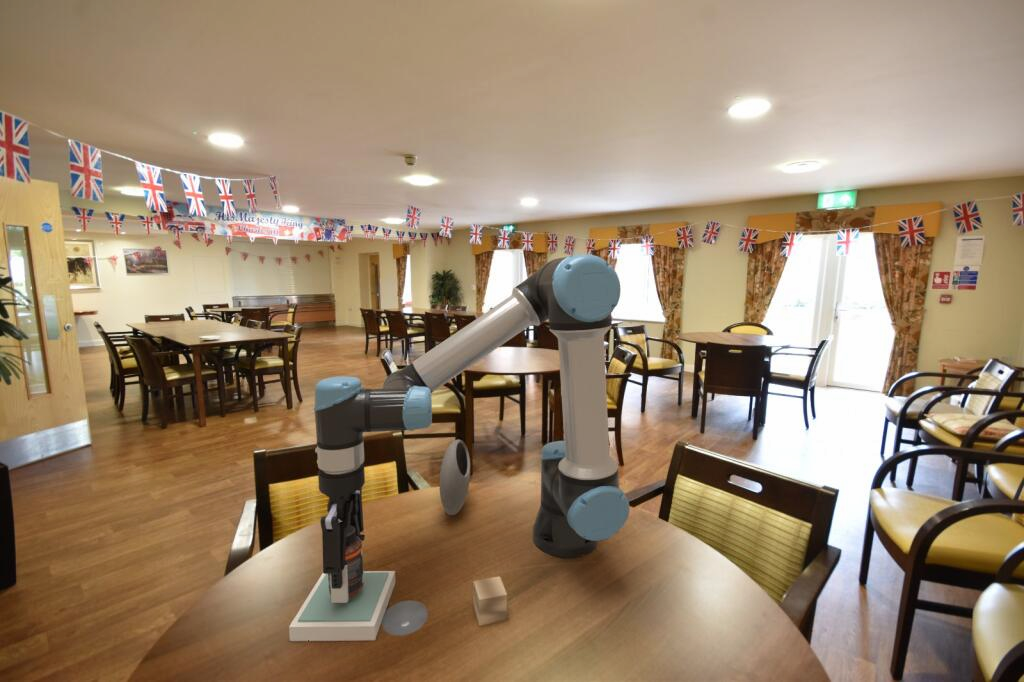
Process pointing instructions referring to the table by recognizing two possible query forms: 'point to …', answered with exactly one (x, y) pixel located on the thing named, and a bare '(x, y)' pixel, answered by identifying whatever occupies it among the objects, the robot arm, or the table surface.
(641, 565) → the table surface
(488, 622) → the oak block
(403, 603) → the coaster
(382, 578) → the podium
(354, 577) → the supplement bottle
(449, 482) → the grey hollow oval piece
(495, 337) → the robot arm
